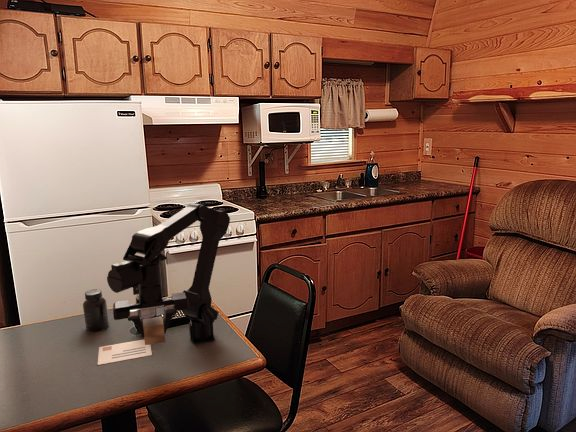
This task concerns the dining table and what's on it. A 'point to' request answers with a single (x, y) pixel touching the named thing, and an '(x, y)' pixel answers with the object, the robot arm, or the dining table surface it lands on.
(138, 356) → the letter
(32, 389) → the dining table surface
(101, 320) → the supplement bottle
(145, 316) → the beverage can
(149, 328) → the walnut block
